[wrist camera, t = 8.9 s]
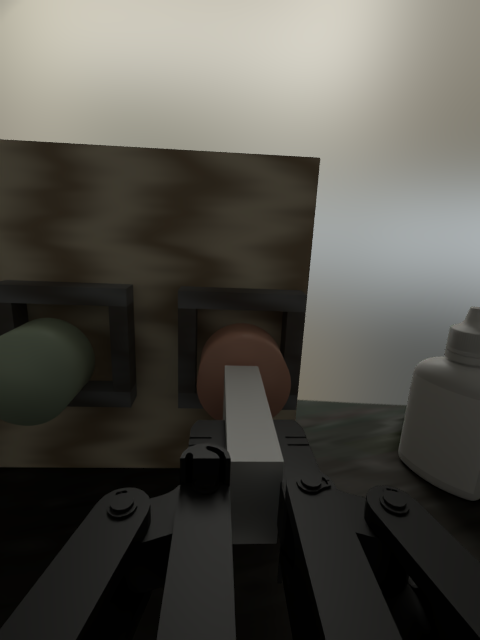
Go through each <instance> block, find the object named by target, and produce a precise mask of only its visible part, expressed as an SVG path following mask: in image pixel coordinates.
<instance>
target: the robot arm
mask: <svg viewBox="0 0 480 640" xmlns="http://www.w3.org/2000/svg"><path fill="white" fill-rule="evenodd" d="M278 533H279V538H280V543H281V546H280V557H279V568H278V583H282V579H283V584H284V590H285V596H286V602H287V608H288V613H289V619H290V625H291V631H292V636H293V640H480V562H478V561H477V560H476V559H475V558H474V557H473V556H472V555H471V554H470V553H469V552H468V551H467V550H466V549H465V548H464V547H463V546H462V545H461V544H460V543H459V542H458V541H457V540H456V539H455V538H454V537H453V536H452V535H451V534H450V533H449V532H448V531H447V530H446V529H445V528H444V527H443V526H442V525H441V524H440V523H439V522H438V521H437V520H436V519H435V518H434V517H432V516H431V515H430V514H429V513H428V512H427V511H426V510H425V509H424V508H423V507H422V506H421V505H420V504H419V503H418V502H417V501H416V500H415V499H414V498H413V497H411V496H410V495H409V494H407V493H406V492H404V491H402V490H400V489H398V488H395V487H390V486H386V485H385V486H375V487H373V488H371V489H370V490H369V491H368V493H367V495H366V498H365V497H360V496H356V495H352V494H348V493H345V492H342V491H340V490H338V489H336V487H335V485H334V483H333V482H332V480H331V479H330V478H329V477H328V476H326V475H325V474H324V473H322V472H320V469H319V467H318V464H317V462H316V459H315V457H314V455H313V452H312V450H311V447H310V446H309V442H308V440H307V438H306V435H305V432H304V430H303V428H302V427H301V426H300V425H299V424H298V423H297V422H296V421H295V420H273V419H272V415H271V412H270V408H269V404H268V401H267V397H266V393H265V389H264V386H263V382H262V378H261V375H260V371H259V367H258V366H230V365H225V371H224V400H223V420H197V421H196V423H195V424H194V425H193V426H192V427H191V431H190V439H189V445H188V449H186V450H185V451H184V452H183V453H182V455H181V457H180V484H179V486H177V487H176V488H175V489H174V490H172V491H171V492H169V493H167V494H164V495H161V496H158V497H154V498H150V499H149V496H148V495H147V494H146V493H145V492H144V491H143V490H140V489H137V488H121V489H117V490H114V491H112V492H110V493H108V494H106V495H105V496H104V497H103V498H101V499H100V500H99V501H98V502H97V504H96V505H95V506H94V508H93V509H92V510H91V511H90V513H89V514H88V515H87V517H86V518H85V519H84V521H83V522H82V523H81V524H80V526H79V527H78V528H77V530H76V531H75V532H74V534H73V535H72V536H71V537H70V539H69V540H68V541H67V543H66V544H65V545H64V547H63V548H62V549H61V551H60V552H59V553H58V554H57V556H56V557H55V558H54V560H53V561H52V562H51V564H50V565H49V566H48V567H47V569H46V570H45V571H44V573H43V574H42V575H41V577H40V578H39V579H38V580H37V582H36V583H35V584H34V586H33V587H32V588H31V590H30V591H29V592H28V594H27V595H26V596H25V597H24V599H23V600H22V601H21V603H20V604H19V605H18V607H17V608H16V609H15V610H14V612H13V613H12V614H11V616H10V617H9V618H8V620H7V621H6V622H5V623H4V625H3V626H2V627H1V629H0V640H132V638H133V635H134V633H135V631H136V628H137V626H138V623H139V621H140V619H141V616H142V614H143V612H144V609H145V607H146V605H147V602H148V600H149V598H150V595H151V591H152V590H153V589H156V588H159V587H162V586H164V585H165V587H164V594H163V601H162V607H161V614H160V620H159V627H158V633H157V640H236V628H235V603H234V578H233V553H232V544H277V535H278Z"/></svg>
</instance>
